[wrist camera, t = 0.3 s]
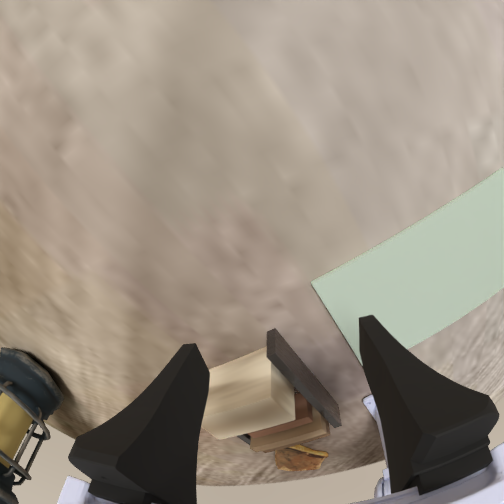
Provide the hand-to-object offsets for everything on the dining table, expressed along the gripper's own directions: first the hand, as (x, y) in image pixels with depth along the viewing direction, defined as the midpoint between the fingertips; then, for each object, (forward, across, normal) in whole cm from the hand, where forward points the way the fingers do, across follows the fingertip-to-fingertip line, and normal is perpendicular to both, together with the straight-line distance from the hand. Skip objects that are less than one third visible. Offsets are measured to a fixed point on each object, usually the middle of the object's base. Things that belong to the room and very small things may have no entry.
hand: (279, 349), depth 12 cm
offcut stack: (+10, +3, +20) cm, 22 cm away
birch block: (+10, +5, +12) cm, 17 cm away
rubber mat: (+10, -14, +5) cm, 18 cm away
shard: (+11, +4, +33) cm, 35 cm away
